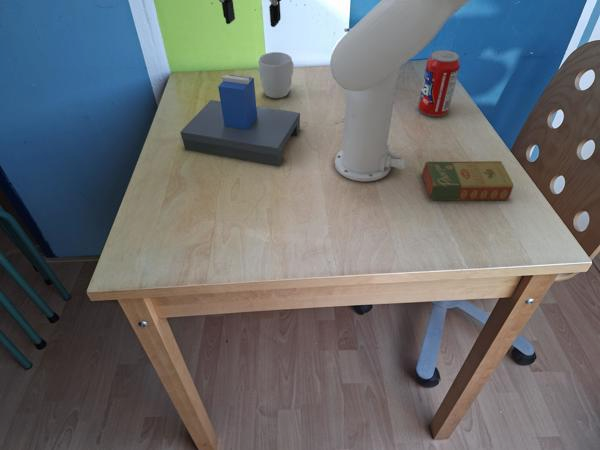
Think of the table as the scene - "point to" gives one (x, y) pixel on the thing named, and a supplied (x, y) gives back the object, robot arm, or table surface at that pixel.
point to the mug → (276, 73)
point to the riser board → (241, 134)
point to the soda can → (439, 83)
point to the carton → (467, 180)
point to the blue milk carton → (238, 101)
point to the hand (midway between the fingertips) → (252, 23)
